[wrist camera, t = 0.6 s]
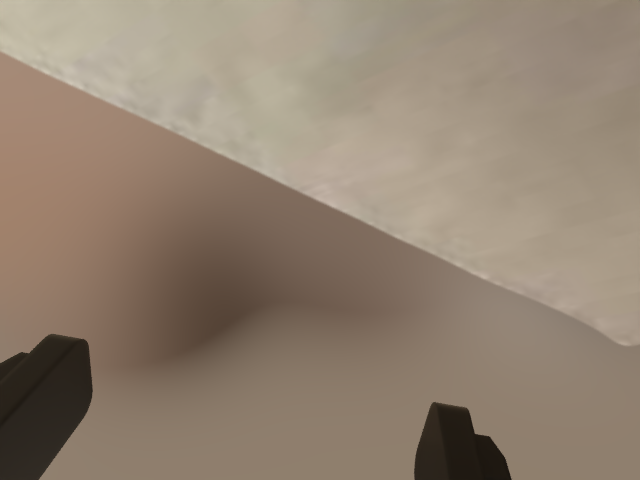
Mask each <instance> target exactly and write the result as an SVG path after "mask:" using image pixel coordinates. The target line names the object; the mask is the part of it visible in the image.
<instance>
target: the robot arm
mask: <svg viewBox="0 0 640 480" xmlns="http://www.w3.org/2000/svg"><path fill="white" fill-rule="evenodd" d="M92 392H93V390H92V377H91V366H90V357H89V346H88V343H87V341H86V340H84V339H79V338H73V337H67V336H62V335H56V334H50V335H48V336H47V337H45V338H44V339H43V340H42V341H41V342H40V343H39V344H38V345H37V346H36V347H35V348H34V349H33V350H32V351H31V352H30V353H29V354H28V353H23V352H21V353H19V354H17V355H15V356H13V357H11V358H10V359H7V360H6V361H4V362H2V363H0V480H39V478H40V477H41V476H42V474H43V473H44V472H45V470H46V469H47V468H48V466H49V465H50V463H51V462H52V461H53V459H54V458H55V456H56V455H57V453H58V452H59V451H60V450H61V448H62V447H63V445H64V444H65V443H66V441H67V440H68V438H69V437H70V436H71V434H72V433H73V432H74V430H75V429H76V428H77V426H78V425H79V423H80V422H81V421H82V419H83V418H84V416H85V414H86V413H87V411H88V408H89V406H90V403H91V399H92ZM414 477H415V480H511V476H510V473H509V470H508V466H507V463H506V459H505V457H504V456H503V455H502V453H501V452H500V450H499V449H498V448H497V446H496V445H495V444H494V442H493V441H492V439H491V438H490V437H489V436H483V435H478V434H475V433H474V429H473V425H472V421H471V416H470V413H469V410H468V409H467V408H465V407H459V406H453V405H447V404H442V403H436V402H433V403H432V405H431V407H430V410H429V413H428V416H427V419H426V422H425V426H424V429H423V432H422V435H421V438H420V442H419V445H418V448H417V452H416V458H415V469H414Z"/></svg>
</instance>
